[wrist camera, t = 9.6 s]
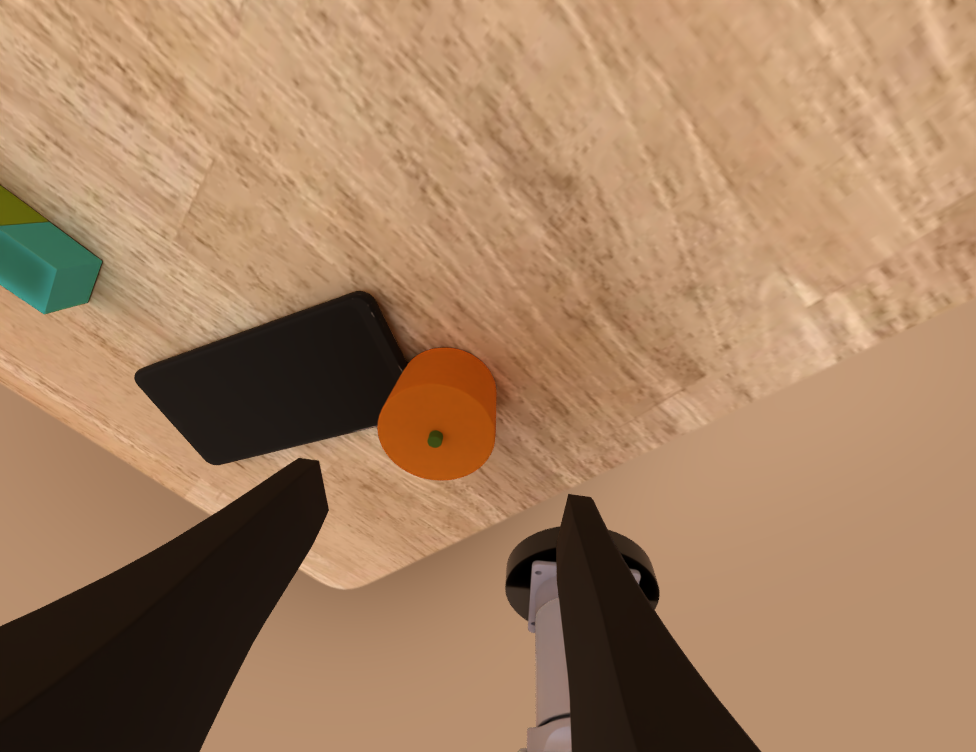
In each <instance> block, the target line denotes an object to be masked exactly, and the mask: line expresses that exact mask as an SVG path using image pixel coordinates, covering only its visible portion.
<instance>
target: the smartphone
mask: <svg viewBox="0 0 976 752" xmlns="http://www.w3.org/2000/svg"><path fill="white" fill-rule="evenodd" d="M406 366H407V362H406V360H405V358H404V356H403V354H402V352H401V350H400V348H399V346H398V344H397V342H396V340H395V338H394V336H393V334H392V332H391V330H390V328H389V326H388V324H387V322H386V320H385V318H384V316H383V314H382V312H381V310H380V308H379V306H378V304H377V302H376V301H375V299H374V298H373V297H372V296H371V295H370V294H368V293H366V292H363V291H356V292H353V293H350V294H347V295H344V296H342V297H339V298H336V299H333V300H330V301H327V302H325V303H322V304H319V305H316V306H313V307H311V308H308V309H305V310H302V311H299V312H297V313H294V314H291V315H288V316H285V317H283V318H280V319H277V320H274V321H271V322H269V323H266V324H263V325H260V326H258V327H255V328H252V329H249V330H246V331H244V332H241V333H238V334H235V335H232V336H230V337H227V338H224V339H221V340H218V341H216V342H213V343H210V344H207V345H205V346H202V347H199V348H196V349H193V350H191V351H188V352H185V353H182V354H179V355H177V356H174V357H171V358H168V359H166V360H163V361H160V362H157V363H154V364H152V365H149V366H146V367H144V368H141V369H139V370H138V371H137V372H136V373H135V377H134V378H135V382H136V383H137V385H138V386H139V387H140V388H141V389H142V390H143V392H144V393H145V394H146V395H147V396H148V397H149V398H150V399H151V401H152V402H153V403H154V404H155V405H156V406H157V407H158V408H159V409H160V411H161V412H162V413H163V414H164V415H165V416H166V417H167V418H168V420H169V421H170V422H171V423H172V424H173V425H174V426H175V427H176V428H177V430H178V431H179V432H180V433H181V434H182V435H183V436H184V437H185V439H186V440H187V441H188V442H189V443H190V444H191V445H192V446H193V447H194V449H195V450H196V451H197V452H198V453H199V454H200V455H201V456H202V457H203V459H204V460H205V461H206V462H208V463H210V464H212V465H221V464H226V463H230V462H234V461H238V460H242V459H246V458H251V457H255V456H259V455H263V454H267V453H271V452H275V451H279V450H283V449H287V448H291V447H295V446H300V445H304V444H308V443H312V442H316V441H320V440H324V439H328V438H332V437H336V436H340V435H344V434H349V433H353V432H357V431H361V430H365V429H369V428H373V427H377V426H378V419H379V415H380V413H381V410H382V408H383V406H384V404H385V403H386V401H387V399H388V397H389V395H390V394H391V392H392V390H393V388H394V386H395V385H396V383H397V381H398V379H399V377H400V376H401V374H402V372H403V371H404V369H405V368H406Z"/></svg>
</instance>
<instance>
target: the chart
mask: <svg viewBox="0 0 976 752" xmlns="http://www.w3.org/2000/svg"><path fill="white" fill-rule="evenodd" d="M101 264H102V261H101V260H100V259H99V258H97V257H96V256H95V255H93V254H92V253H91V252H89V251H88V250H87V249H85V248H84V247H83V246H81V245H80V244H78V243H77V242H76V241H74V240H73V239H72V238H70V237H69V236H68V235H66V234H65V233H64V232H62V231H61V230H60V229H58V228H57V227H55V226H54V225H53V224H51V223H50V222H49V221H48V220H47V219H45V218H44V217H43V216H41V215H40V214H39V213H37V212H36V211H35V210H33V209H32V208H30V207H29V206H28V205H26V204H25V203H24V202H22V201H21V200H20V199H18V198H17V197H16V196H14V195H13V194H12V193H10V192H9V191H7V190H6V189H5V188H3V187H2V186H1V185H0V285H1V286H3V287H4V288H6V289H7V290H9V291H10V292H12V293H13V294H15V295H16V296H18V297H19V298H21V299H22V300H24V301H25V302H26V303H28V304H29V305H31V306H32V307H34V308H35V309H37V310H38V311H40V312H41V313H43V314H48V313H51V312H55V311H59V310H62V309H66V308H70V307H73V306H77V305H81V304H85V303H88V300H89V298H90V295H91V292H92V289H93V286H94V284H95V281H96V278H97V275H98V272H99V269H100V267H101Z"/></svg>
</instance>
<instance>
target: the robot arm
mask: <svg viewBox="0 0 976 752" xmlns="http://www.w3.org/2000/svg"><path fill="white" fill-rule="evenodd" d="M328 511H329V509H328V504H327V499H326V494H325V489H324V484H323V479H322V474H321V469H320V464H319V461H317V460H310V459H302V458H298V459H297V460H295V461H293V462H292V463H290V464H289V465H287V466H286V467H284V468H283V469H281V470H280V471H278V472H277V473H275V474H274V475H272V476H271V477H269V478H268V479H266V480H265V481H263V482H262V483H261V484H259V485H258V486H256V487H255V488H253V489H252V490H250V491H249V492H247V493H246V494H244V495H243V496H241V497H240V498H238V499H236V500H235V501H233V502H232V503H230V504H229V505H227V506H226V507H224V508H223V509H221V510H220V511H218V512H217V513H215V514H213V515H212V516H210V517H209V518H207V519H205V520H204V521H202V522H200V523H199V524H197V525H196V526H194V527H192V528H191V529H189V530H187V531H186V532H184V533H183V534H181V535H179V536H178V537H176V538H174V539H173V540H171V541H169V542H168V543H166V544H164V545H162V546H161V547H159V548H157V549H155V550H154V551H152V552H150V553H148V554H147V555H145V556H143V557H141V558H139V559H137V560H135V561H134V562H132V563H130V564H128V565H126V566H125V567H122V568H121V569H119V570H117V571H115V572H113V573H111V574H109V575H107V576H106V577H103V578H101V579H99V580H97V581H95V582H93V583H91V584H89V585H87V586H85V587H83V588H81V589H79V590H77V591H75V592H73V593H71V594H69V595H67V596H65V597H62V598H60V599H59V600H56V601H54V602H52V603H50V604H48V605H46V606H44V607H42V608H40V609H38V610H35V611H33V612H31V613H29V614H27V615H24V616H22V617H20V618H18V619H15V620H13V621H11V622H9V623H6V624H4V625H2V626H0V752H200V750H201V747H202V745H203V743H204V741H205V739H206V736H207V734H208V732H209V730H210V728H211V726H212V724H213V722H214V720H215V718H216V716H217V714H218V712H219V710H220V707H221V705H222V703H223V701H224V699H225V697H226V695H227V693H228V691H229V689H230V687H231V685H232V683H233V681H234V679H235V677H236V675H237V673H238V671H239V669H240V667H241V665H242V663H243V661H244V660H245V657H246V656H247V654H248V651H249V650H250V648H251V646H252V644H253V642H254V640H255V639H256V637H257V635H258V634H259V632H260V630H261V628H262V627H263V625H264V623H265V621H266V620H267V618H268V617H269V615H270V614H271V612H272V610H273V609H274V607H275V605H276V604H277V602H278V601H279V599H280V597H281V596H282V594H283V592H284V591H285V589H286V588H287V586H288V584H289V583H290V581H291V580H292V578H293V576H294V575H295V573H296V572H297V570H298V568H299V567H300V565H301V563H302V562H303V560H304V559H305V557H306V555H307V554H308V552H309V550H310V549H311V547H312V545H313V543H314V541H315V539H316V537H317V535H318V533H319V531H320V529H321V527H322V524H323V522H324V520H325V518H326V515H327V513H328ZM556 547H557V562H553V561H542V560H536V561H534V562H533V563H532V574H531V588H530V602H529V617H528V630H529V632H531V633H536V727H535V728H528V729H527V748H522V749H520V750H519V751H518V752H761V751H760V750H759V748H758V747H757V746H756V745H755V743H754V742H753V741H752V740H751V739H750V737H749V736H748V735H747V734H746V732H745V731H744V730H743V729H742V728H741V726H740V725H739V724H738V723H737V721H736V720H735V719H734V718H733V717H732V715H731V714H730V713H729V712H728V710H727V709H726V708H725V707H724V705H723V704H722V703H721V702H720V701H719V699H718V698H717V697H716V695H715V694H714V693H713V692H712V690H711V689H710V688H709V687H708V685H707V684H706V682H705V681H704V680H703V678H702V677H701V676H700V674H699V673H698V672H697V670H696V669H695V668H694V667H693V665H692V664H691V662H690V661H689V660H688V658H687V657H686V655H685V654H684V653H683V651H682V650H681V648H680V647H679V646H678V644H677V643H676V641H675V640H674V639H673V637H672V636H671V634H670V633H669V632H668V630H667V628H666V627H665V625H664V624H663V622H662V621H661V619H660V618H659V616H658V615H657V613H656V612H655V610H654V609H653V607H652V605H651V604H650V602H649V601H648V599H647V598H646V596H645V594H644V593H643V591H642V590H641V588H640V586H639V581H640V578H641V576H640V572H639V571H638V570H636V569H629V568H628V566H627V564H626V562H625V561H624V559H623V557H622V555H621V554H620V552H619V550H618V548H617V546H616V545H615V543H614V541H613V539H612V537H611V535H610V533H609V531H608V529H607V527H606V525H605V523H604V522H603V520H602V518H601V515H600V514H599V511H598V509H597V507H596V505H595V503H594V501H593V499H592V498H591V497H585V496H579V495H571V494H568V498H567V502H566V506H565V510H564V514H563V518H562V522H561V526H560V530H559V534H558V538H557V542H556Z"/></svg>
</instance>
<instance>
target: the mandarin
mask: <svg viewBox="0 0 976 752" xmlns="http://www.w3.org/2000/svg"><path fill="white" fill-rule="evenodd" d="M495 433H496V385H495V381H494V378H493V376H492V374H491V372H490V371H489V369H488V368H487V367H486V365H485V364H484V363H483V362H482V361H480V360H479V359H478V358H477V357H475V356H473V355H472V354H470V353H467V352H465V351H462V350H459V349H455V348H435V349H430V350H427V351H425V352H422V353H420V354H419V355H417V356H416V357H414V358H413V359H412V360H411V361H410V362H409V363H408V364H407V366H406V368H405V369H404V371H403V372H402V374H401V376H400V377H399V379H398V381H397V383H396V385H395V386H394V388H393V390H392V392H391V394H390V395H389V397H388V399H387V401H386V403H385V404H384V406H383V408H382V410H381V413H380V415H379V419H378V436H379V440H380V443H381V445H382V447H383V449H384V451H385V452H386V454H387V455H388V456H389V458H390V459H391V460H392V461H393V462H394V463H395V464H397V465H398V466H399V467H400V468H402V469H403V470H405V471H407V472H409V473H411V474H413V475H415V476H418V477H421V478H425V479H430V480H452V479H457V478H461V477H464V476H467V475H469V474H471V473H473V472H474V471H476V470H477V469H479V468H480V467H481V466H482V465H483V464H484V463H485V462H486V461H487V459H488V458H489V456H490V455H491V453H492V450H493V448H494V444H495Z"/></svg>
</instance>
